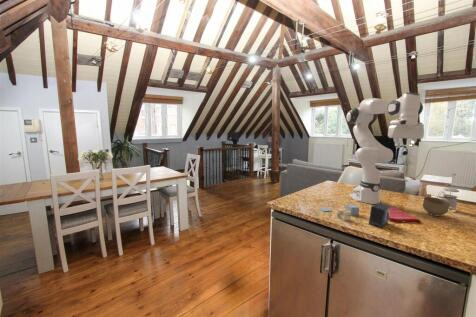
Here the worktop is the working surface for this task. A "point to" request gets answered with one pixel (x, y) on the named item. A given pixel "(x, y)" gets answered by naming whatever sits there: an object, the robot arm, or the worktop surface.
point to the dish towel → (400, 215)
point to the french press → (450, 196)
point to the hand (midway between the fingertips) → (404, 146)
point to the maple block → (343, 214)
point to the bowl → (435, 205)
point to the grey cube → (353, 209)
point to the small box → (379, 215)
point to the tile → (325, 209)
